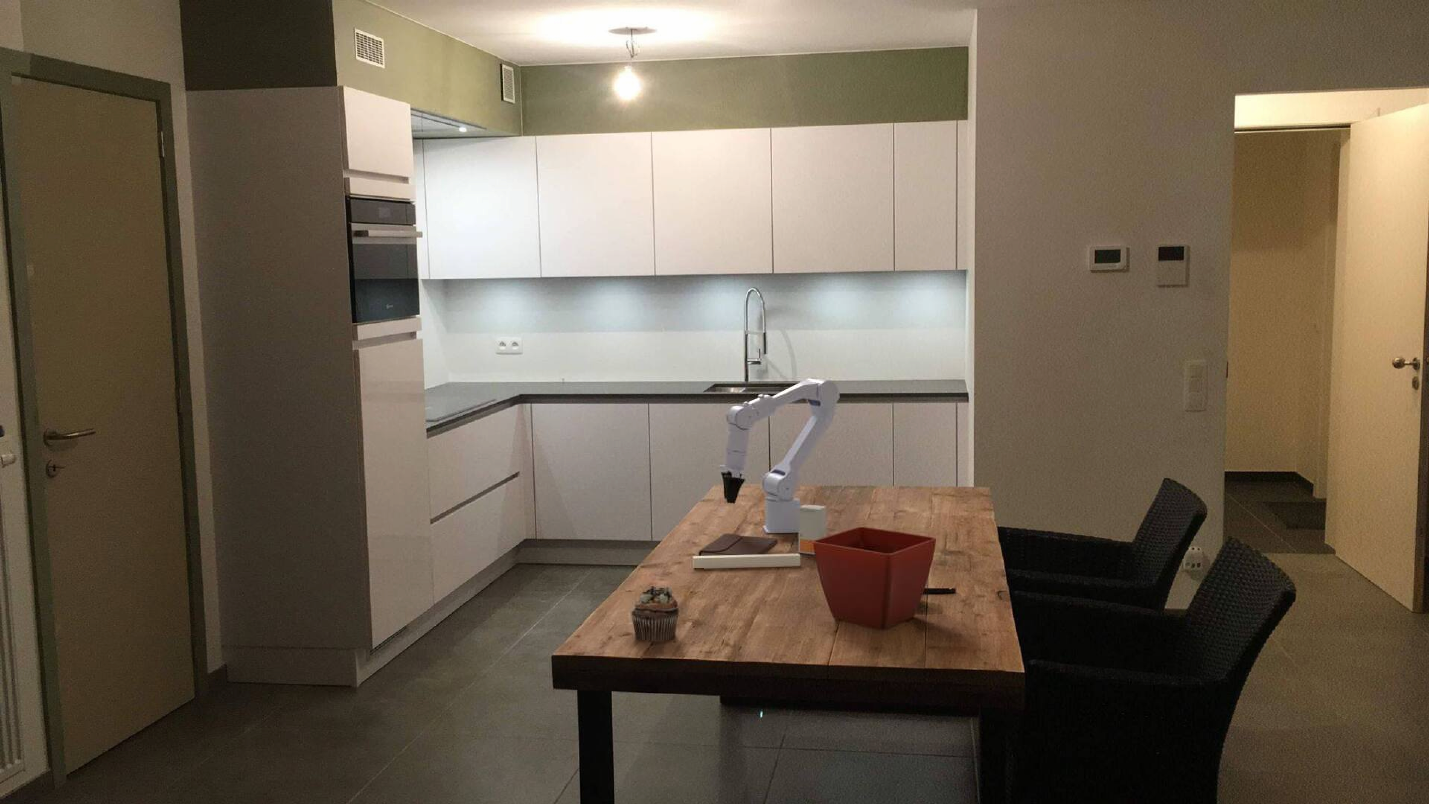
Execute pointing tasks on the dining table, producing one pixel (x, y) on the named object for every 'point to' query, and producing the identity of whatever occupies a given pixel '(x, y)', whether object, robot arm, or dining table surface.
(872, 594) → the plant pot
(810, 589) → the dining table surface
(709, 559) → the bar
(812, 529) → the skincare box
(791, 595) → the dining table surface
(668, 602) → the cupcake
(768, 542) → the notebook
